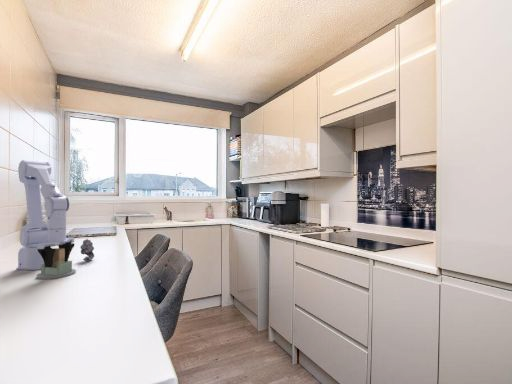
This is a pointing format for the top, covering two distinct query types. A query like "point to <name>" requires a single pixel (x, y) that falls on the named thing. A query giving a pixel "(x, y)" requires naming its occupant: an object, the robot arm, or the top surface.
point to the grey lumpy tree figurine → (87, 249)
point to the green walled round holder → (56, 271)
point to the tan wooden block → (58, 256)
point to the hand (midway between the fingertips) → (56, 264)
